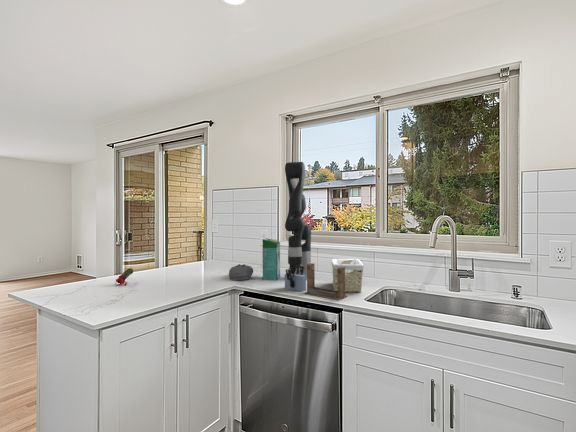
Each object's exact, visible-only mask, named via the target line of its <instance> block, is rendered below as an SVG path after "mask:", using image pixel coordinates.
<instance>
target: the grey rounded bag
mask: <svg viewBox="0 0 576 432" xmlns="http://www.w3.org/2000/svg"><path fill="white" fill-rule="evenodd" d="M253 274H254V268H253V267H252V266H250V265H246V264H245V263H244V264H240V263H239V264H237V265H235V266H231V268H230V269H229V271H228V277H229V280H232V281H246V280H249V279H250V278H251V277H252V275H253Z"/></svg>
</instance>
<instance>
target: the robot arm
mask: <svg viewBox="0 0 576 432" xmlns="http://www.w3.org/2000/svg"><path fill="white" fill-rule="evenodd" d="M284 172H285V173H284V174H285V177H286V179H285V180H286V183H287V187H288V188H287V189H288V194H289V195H288V197H289V199H288V213H287V216H286V220H285V224H284V227H285V231H287V232H293V233H292V234H293V235H290V236H288V240H287V241H288V243H287V244H288V249H287V263H288V265H289V266H288V268H287V269H285V274H286V275H287V280H290V287H291V288H294V278H295V276H296V274H298V275H305V276H306V280H307V264H310V263H312V251H311V249H312V245H311V244H312V228H311V226H310V225H307V224H305V220H304V219H303V218H302V217H303V214H304V213H305V211H306V209H307V204H306V196H305V195H304V193H303V192H304V186H305V178H306V177H305V176H306V165H305V163H304V162H303V161H293V162H292V161H291V162H286V163H285V165H284ZM294 179H296V180H298V181H297V184H296V183H295V180H294ZM302 241H304V243H302ZM292 274H294V275H292ZM292 276H293V278H292ZM289 277H290V278H289Z"/></svg>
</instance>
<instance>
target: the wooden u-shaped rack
mask: <svg viewBox="0 0 576 432" xmlns="http://www.w3.org/2000/svg"><path fill="white" fill-rule="evenodd" d="M315 269H316V268H315V263H313V262H311V263H310V264H307V279H306V292H304V294H305V295H309V296H314V297H320V298H325V299H330V300H337V301H340V300H342V299H346V298H347V297H348V295H347V294H346V292H345V267H339V268H337V274H338V290H334V289H330V288H327V287H326V288H325V287H319V286H315V285H316V284H315V279H316V277H315V275H316V274H315V273H316V272H315Z"/></svg>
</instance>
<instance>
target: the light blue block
mask: <svg viewBox="0 0 576 432" xmlns="http://www.w3.org/2000/svg"><path fill="white" fill-rule="evenodd" d="M292 275H294V274H292ZM289 278H290V277H289ZM292 278H293V276H292ZM284 289H288V290H290V291H292V290H293V291H298V292H305V291H307V279H306V276H305V275H298V274H296V276H295V278H294V288H291V287H290V280H287V275H286V273H284Z"/></svg>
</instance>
